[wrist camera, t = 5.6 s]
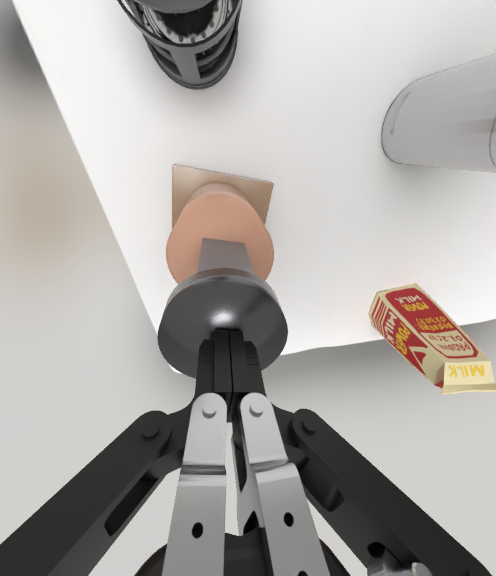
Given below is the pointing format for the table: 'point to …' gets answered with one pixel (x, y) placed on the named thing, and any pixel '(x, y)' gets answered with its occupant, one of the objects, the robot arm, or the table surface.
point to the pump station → (218, 223)
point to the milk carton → (431, 340)
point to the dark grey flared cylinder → (189, 36)
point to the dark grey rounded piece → (220, 316)
